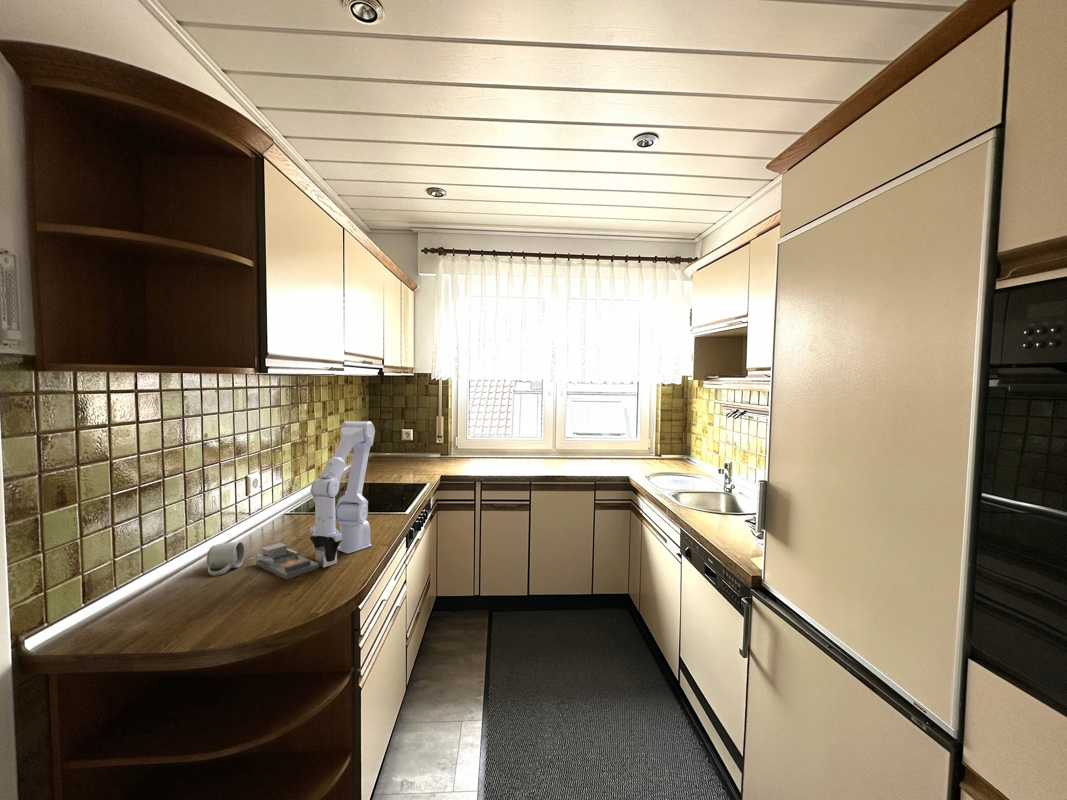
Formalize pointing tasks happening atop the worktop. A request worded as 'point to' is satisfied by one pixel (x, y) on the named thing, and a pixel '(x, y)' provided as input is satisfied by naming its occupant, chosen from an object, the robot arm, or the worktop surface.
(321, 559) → the white rectangular block
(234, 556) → the ceramic mug
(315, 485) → the robot arm
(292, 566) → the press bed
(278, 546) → the block
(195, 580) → the worktop surface
